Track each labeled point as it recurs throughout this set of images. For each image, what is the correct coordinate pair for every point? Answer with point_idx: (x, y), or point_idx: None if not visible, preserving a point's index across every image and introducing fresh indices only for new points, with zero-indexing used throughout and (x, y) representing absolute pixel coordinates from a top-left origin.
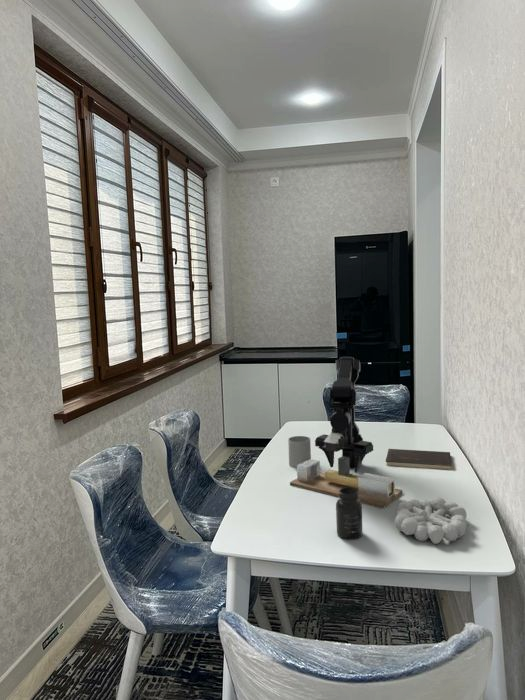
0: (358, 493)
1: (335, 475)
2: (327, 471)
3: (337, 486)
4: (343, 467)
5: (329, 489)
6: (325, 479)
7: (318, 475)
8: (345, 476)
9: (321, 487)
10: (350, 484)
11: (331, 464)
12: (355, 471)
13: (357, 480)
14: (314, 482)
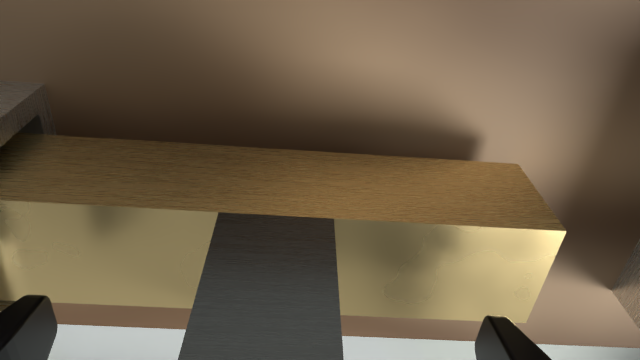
0: (26, 61)
1: (381, 208)
2: (529, 255)
3: (342, 133)
4: (225, 314)
5: (390, 4)
6: (515, 170)
7: (625, 276)
8: (211, 209)
9: (509, 14)
10: (159, 154)
11: (502, 354)
12: (28, 304)
13: (18, 188)
14: (633, 116)
